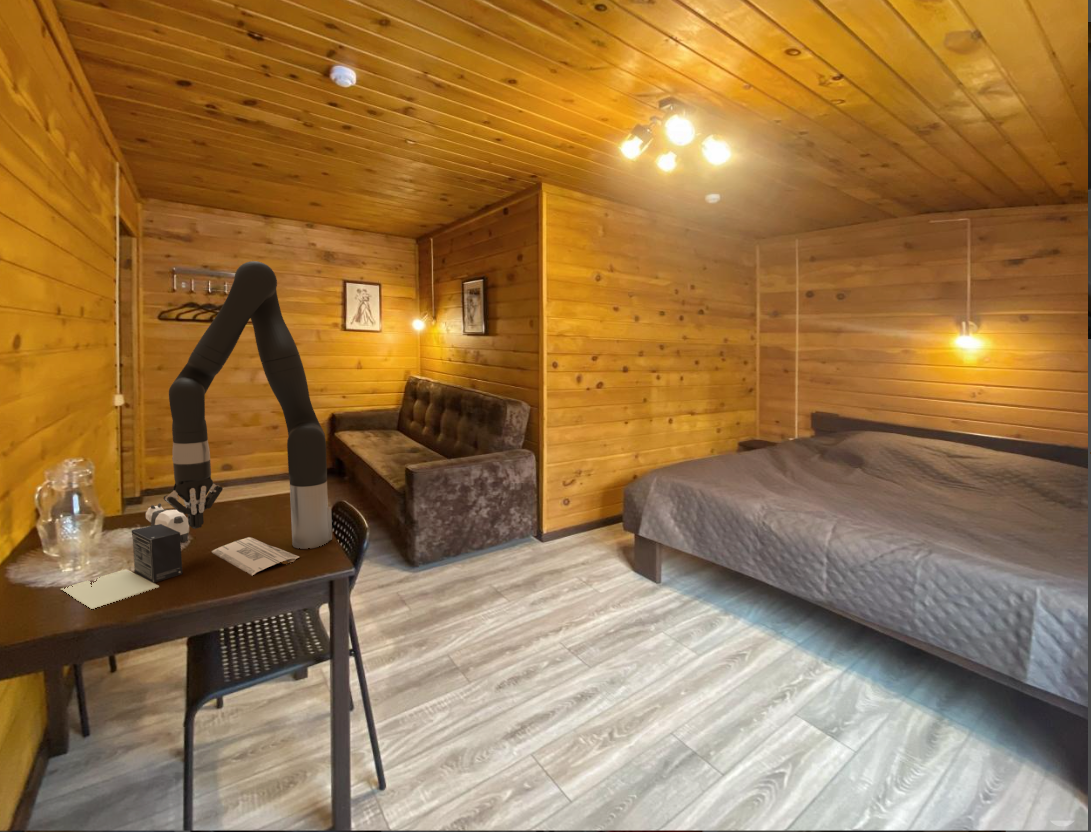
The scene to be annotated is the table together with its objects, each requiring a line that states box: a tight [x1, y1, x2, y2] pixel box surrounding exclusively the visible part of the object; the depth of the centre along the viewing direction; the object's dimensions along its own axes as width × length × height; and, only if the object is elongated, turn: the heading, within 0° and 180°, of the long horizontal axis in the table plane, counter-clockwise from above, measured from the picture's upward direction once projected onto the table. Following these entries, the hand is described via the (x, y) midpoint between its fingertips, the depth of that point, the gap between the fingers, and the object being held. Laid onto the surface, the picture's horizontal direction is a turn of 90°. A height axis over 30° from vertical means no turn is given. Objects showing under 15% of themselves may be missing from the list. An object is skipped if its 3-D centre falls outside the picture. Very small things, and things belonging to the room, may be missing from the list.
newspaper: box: [211, 536, 300, 577], centre depth 134 cm, size 23×12×2 cm, turn 55°
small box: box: [131, 524, 183, 584], centre depth 122 cm, size 11×6×10 cm, turn 58°
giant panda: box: [145, 503, 190, 543], centre depth 143 cm, size 15×6×10 cm, turn 65°
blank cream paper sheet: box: [60, 568, 160, 610], centre depth 115 cm, size 12×16×1 cm
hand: (196, 527), depth 129 cm, fingers closed
